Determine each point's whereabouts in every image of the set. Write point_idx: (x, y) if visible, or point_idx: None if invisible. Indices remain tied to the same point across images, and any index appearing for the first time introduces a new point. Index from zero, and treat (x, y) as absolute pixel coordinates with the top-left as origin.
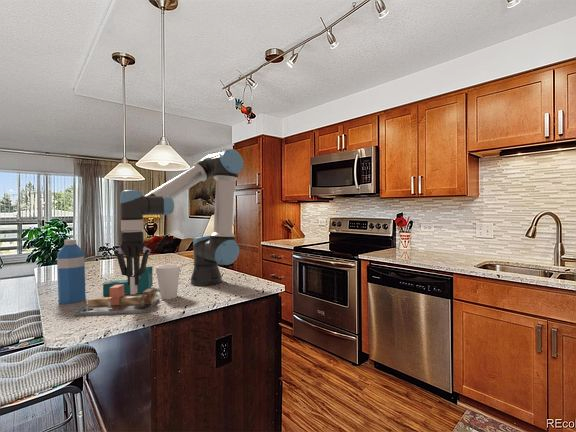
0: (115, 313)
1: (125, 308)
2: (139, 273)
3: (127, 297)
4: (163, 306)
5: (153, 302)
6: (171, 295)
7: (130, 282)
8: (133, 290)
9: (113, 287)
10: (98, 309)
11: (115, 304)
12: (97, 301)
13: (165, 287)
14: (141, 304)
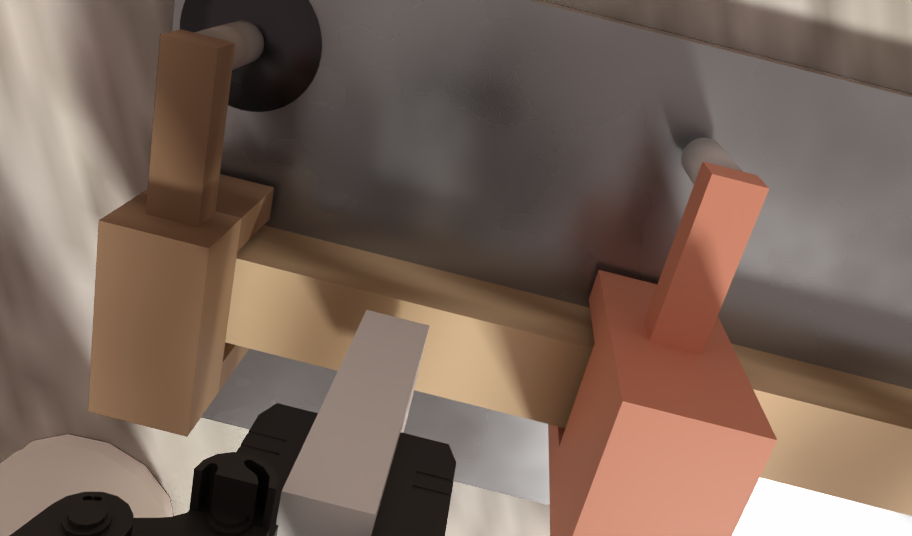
0: (604, 17)
1: (484, 92)
2: (121, 527)
3: (487, 354)
4: (48, 143)
5: None
6: (13, 458)
7: (390, 439)
8: (368, 343)
9: (707, 437)
10: (846, 190)
11: (639, 284)
12: (894, 409)
13: (4, 526)
14: (247, 32)
